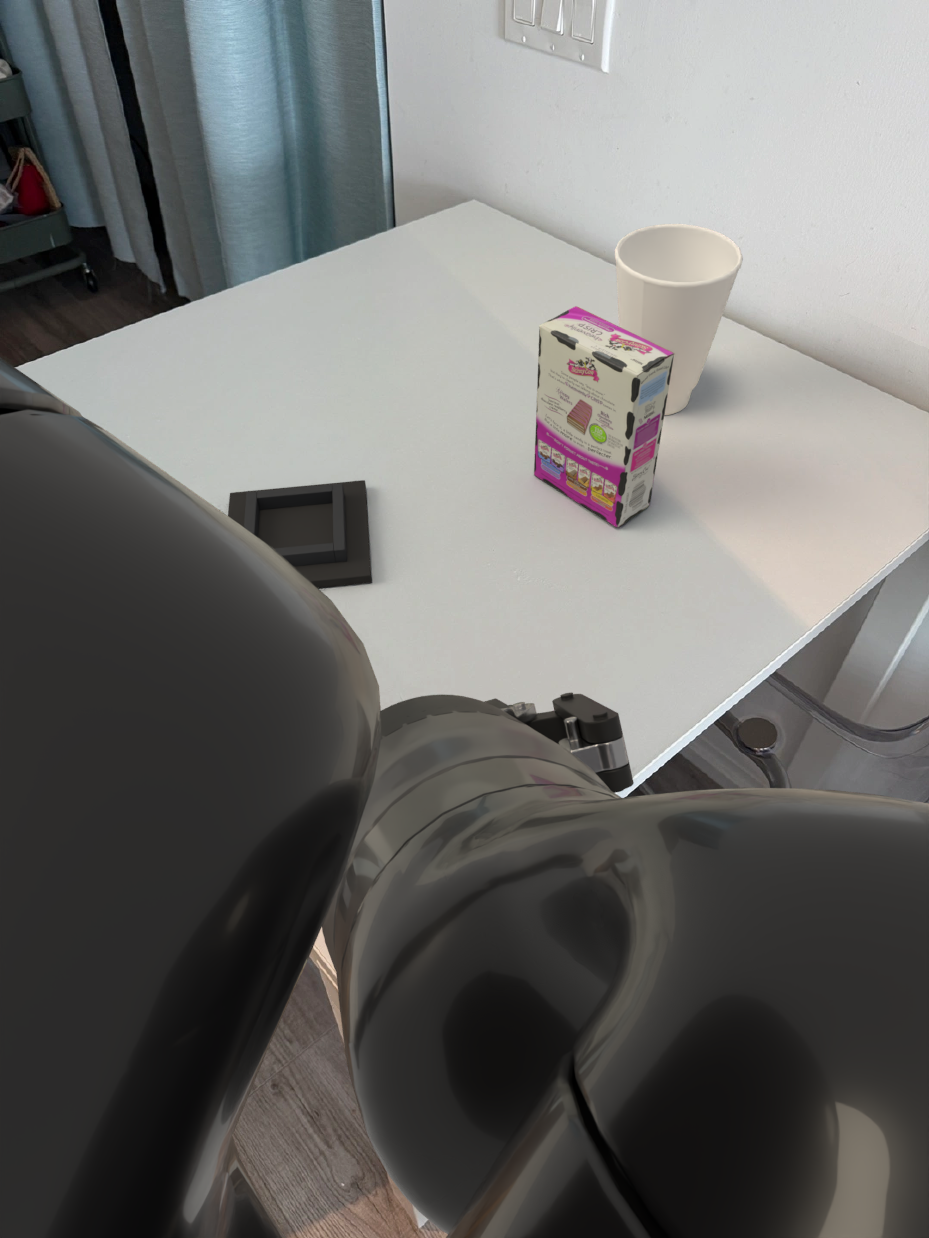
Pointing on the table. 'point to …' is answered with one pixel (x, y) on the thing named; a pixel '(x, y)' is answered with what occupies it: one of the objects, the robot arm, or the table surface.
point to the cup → (676, 295)
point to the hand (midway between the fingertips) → (397, 748)
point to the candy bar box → (599, 413)
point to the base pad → (312, 528)
